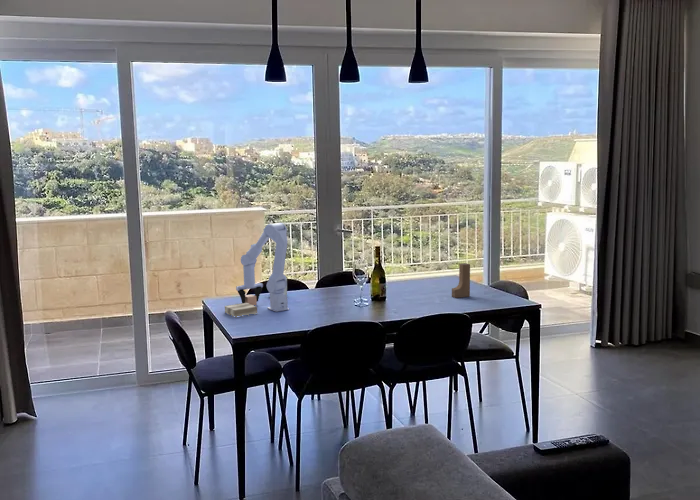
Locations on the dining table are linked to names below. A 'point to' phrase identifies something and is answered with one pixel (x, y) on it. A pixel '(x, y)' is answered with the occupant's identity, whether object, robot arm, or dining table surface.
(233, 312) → the birch base block
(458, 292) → the wooden block
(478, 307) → the dining table surface
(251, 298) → the terracotta cube
